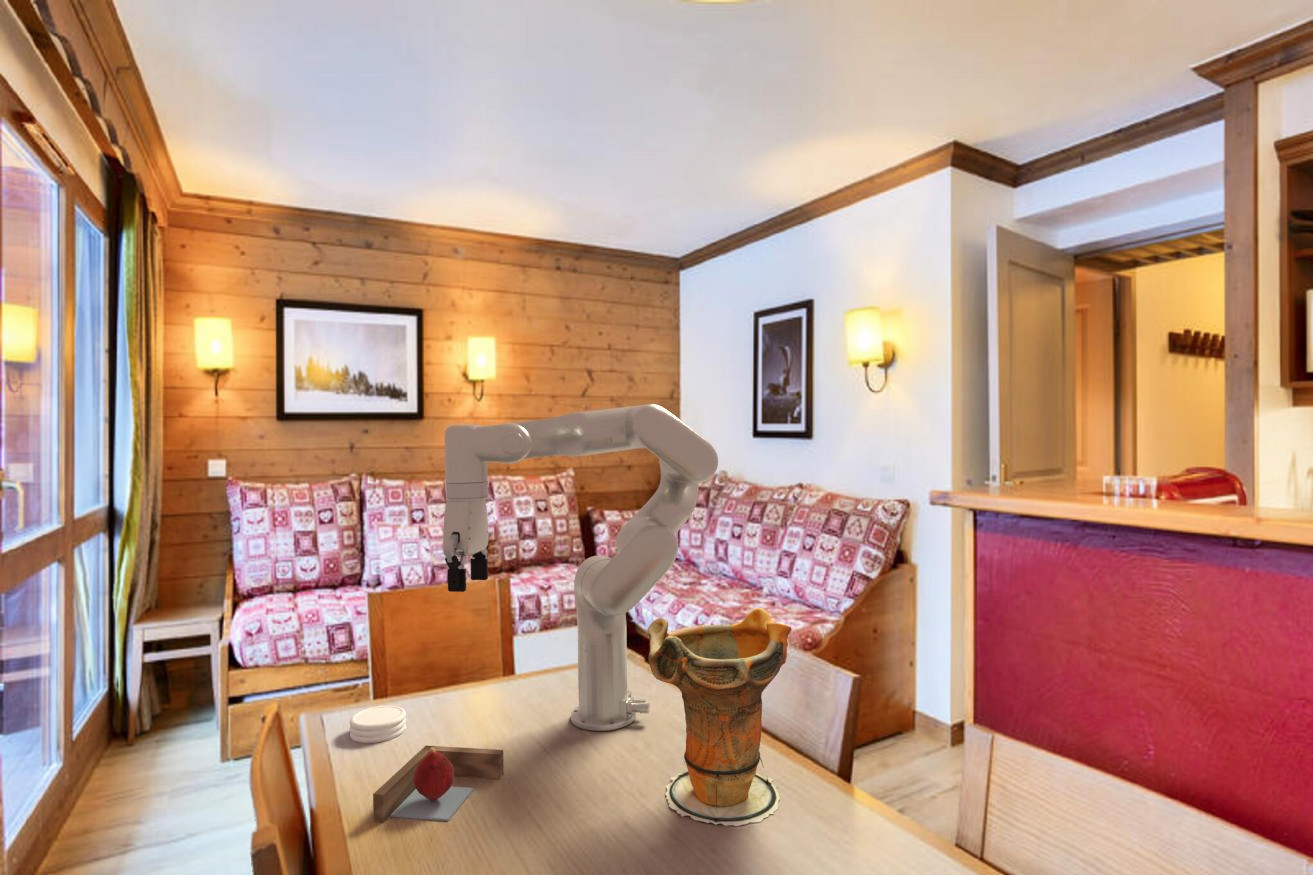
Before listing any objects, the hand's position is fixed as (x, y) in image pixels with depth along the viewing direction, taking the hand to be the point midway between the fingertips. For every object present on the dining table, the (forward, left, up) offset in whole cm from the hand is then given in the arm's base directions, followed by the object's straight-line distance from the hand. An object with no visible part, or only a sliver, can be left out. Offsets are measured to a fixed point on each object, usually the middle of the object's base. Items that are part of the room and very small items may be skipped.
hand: (468, 585), depth 129 cm
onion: (-4, +22, -28) cm, 36 cm away
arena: (-4, +20, -28) cm, 35 cm away
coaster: (+19, -1, -29) cm, 35 cm away
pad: (-4, +22, -28) cm, 36 cm away
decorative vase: (-47, +14, -28) cm, 57 cm away
